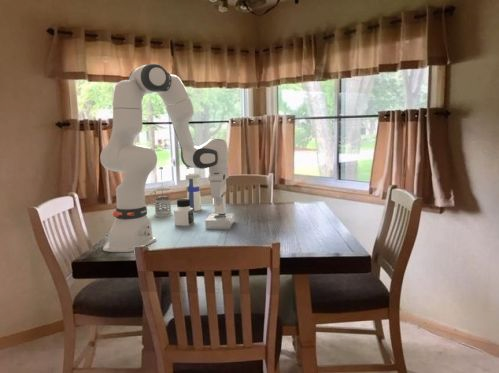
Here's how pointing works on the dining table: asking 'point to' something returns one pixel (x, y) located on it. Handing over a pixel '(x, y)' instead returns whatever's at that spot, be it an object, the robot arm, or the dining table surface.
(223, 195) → the plug
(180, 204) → the medicine bottle
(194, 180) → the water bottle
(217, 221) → the socket
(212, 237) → the dining table surface
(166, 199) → the french press
